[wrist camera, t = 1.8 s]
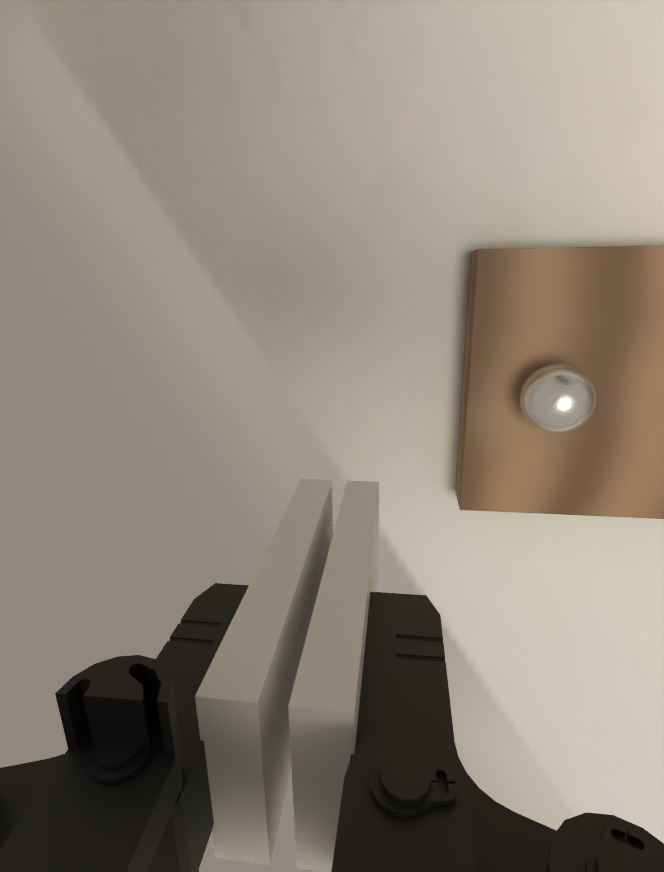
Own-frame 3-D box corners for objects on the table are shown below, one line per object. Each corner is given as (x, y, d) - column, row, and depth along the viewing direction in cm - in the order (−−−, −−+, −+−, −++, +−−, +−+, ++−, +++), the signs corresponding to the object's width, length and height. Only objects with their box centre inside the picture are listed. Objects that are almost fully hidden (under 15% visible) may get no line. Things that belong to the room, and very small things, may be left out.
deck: (455, 491, 31) (459, 509, 29) (471, 251, 27) (478, 249, 24) (815, 506, 28) (852, 527, 26) (897, 242, 24) (951, 239, 22)
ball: (516, 358, 26) (533, 370, 23) (586, 358, 25) (613, 371, 22) (510, 422, 27) (525, 442, 24) (577, 423, 26) (601, 444, 23)
